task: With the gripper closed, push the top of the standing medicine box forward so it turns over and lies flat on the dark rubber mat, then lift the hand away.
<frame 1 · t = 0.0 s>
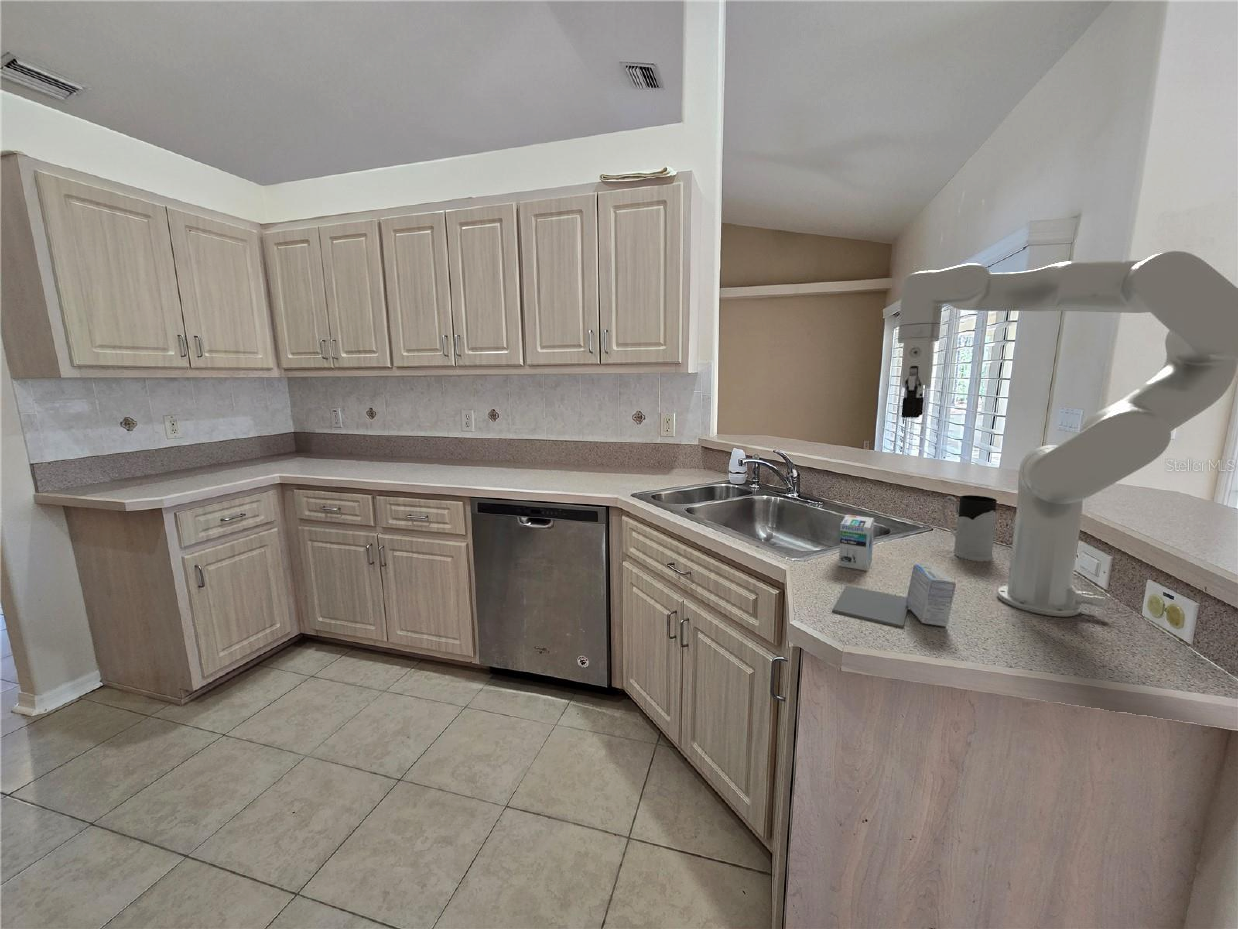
hand: (912, 416, 105), 37 cm above the countertop, tool pointing down, fingers open, 9 cm apart
light bulb box: (855, 563, 122), on the countertop
medicine box: (924, 616, 92), on the countertop, touching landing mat
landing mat: (871, 605, 97), on the countertop
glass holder: (962, 552, 128), on the countertop
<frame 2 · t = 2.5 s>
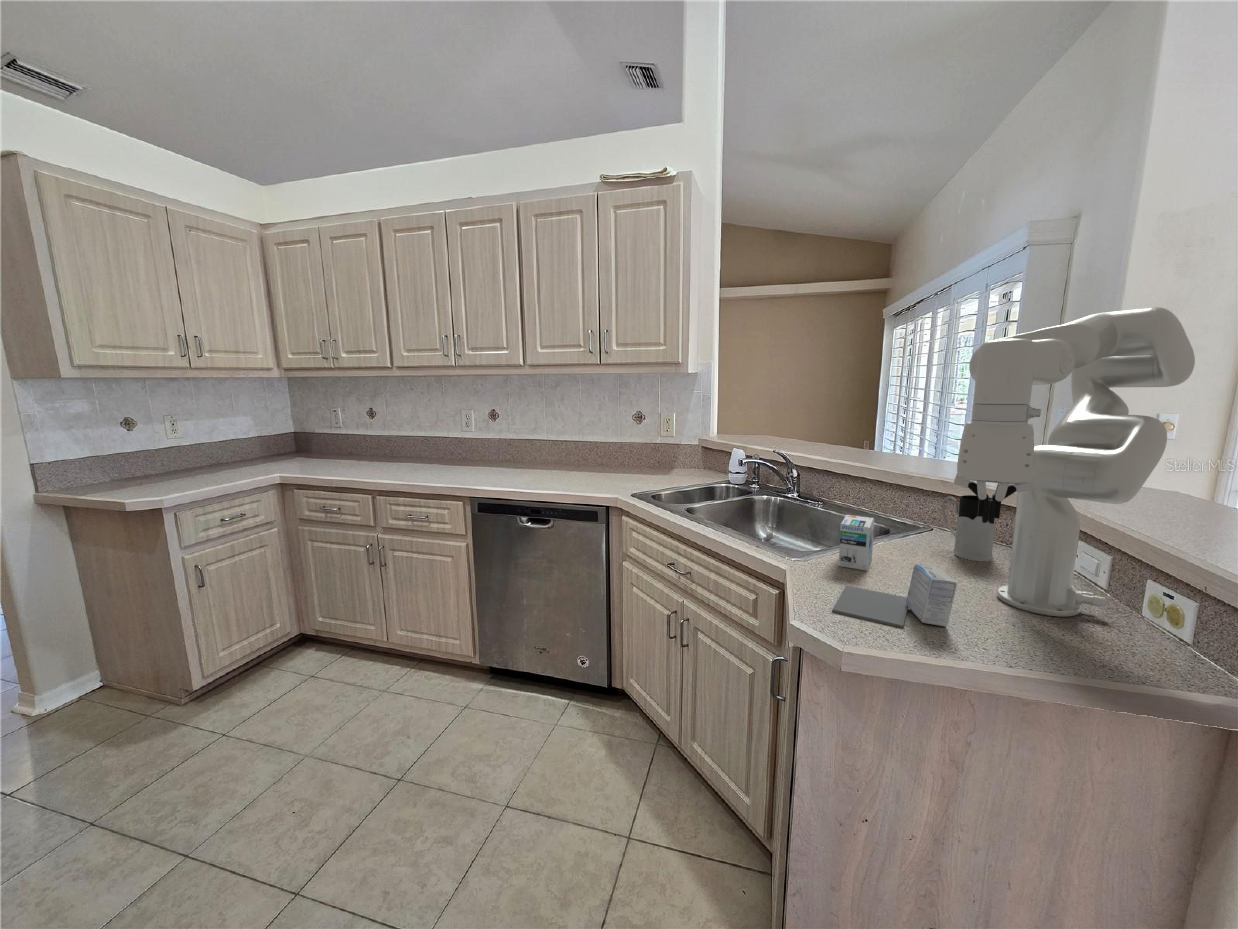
hand: (987, 521, 85), 20 cm above the countertop, tool pointing down, fingers closed
nothing on the countertop moved.
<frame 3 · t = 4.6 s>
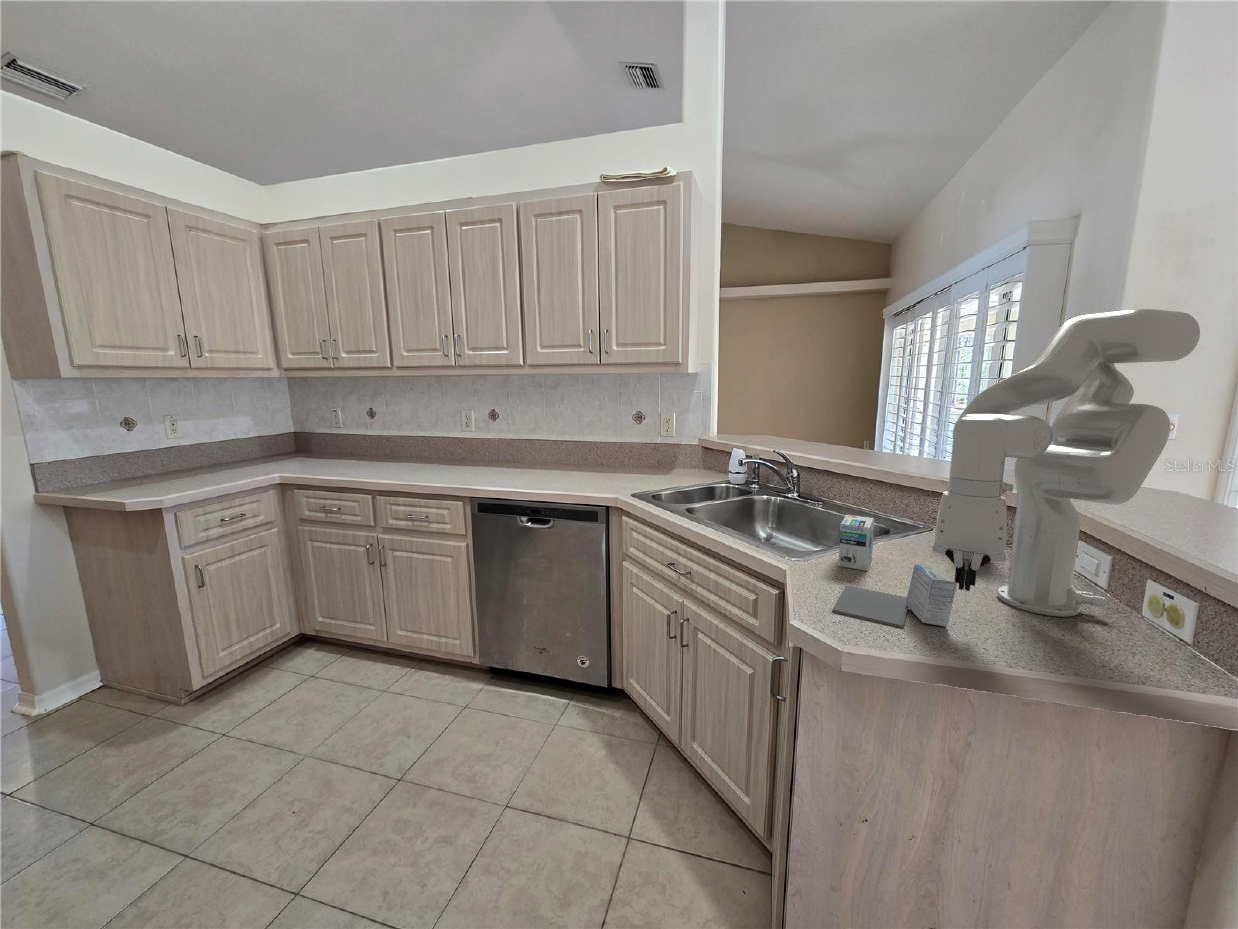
hand: (964, 587, 88), 7 cm above the countertop, tool pointing down, fingers closed
medicine box: (924, 616, 92), on the countertop, touching gripper, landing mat
everything else where it was.
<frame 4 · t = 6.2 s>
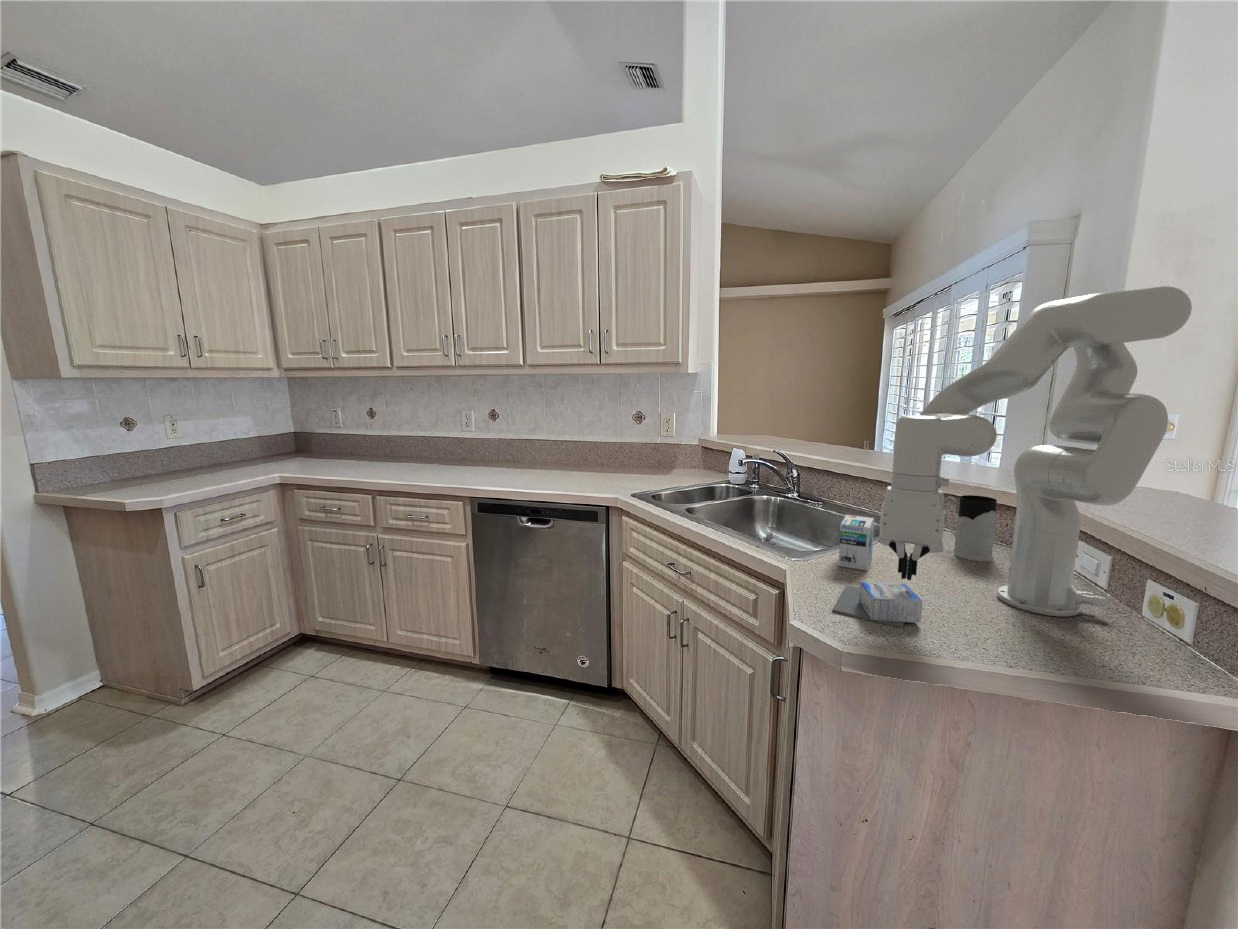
hand: (906, 577, 93), 7 cm above the countertop, tool pointing down, fingers closed
medicine box: (914, 603, 92), point 3 cm above the countertop, touching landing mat
everything else where it was.
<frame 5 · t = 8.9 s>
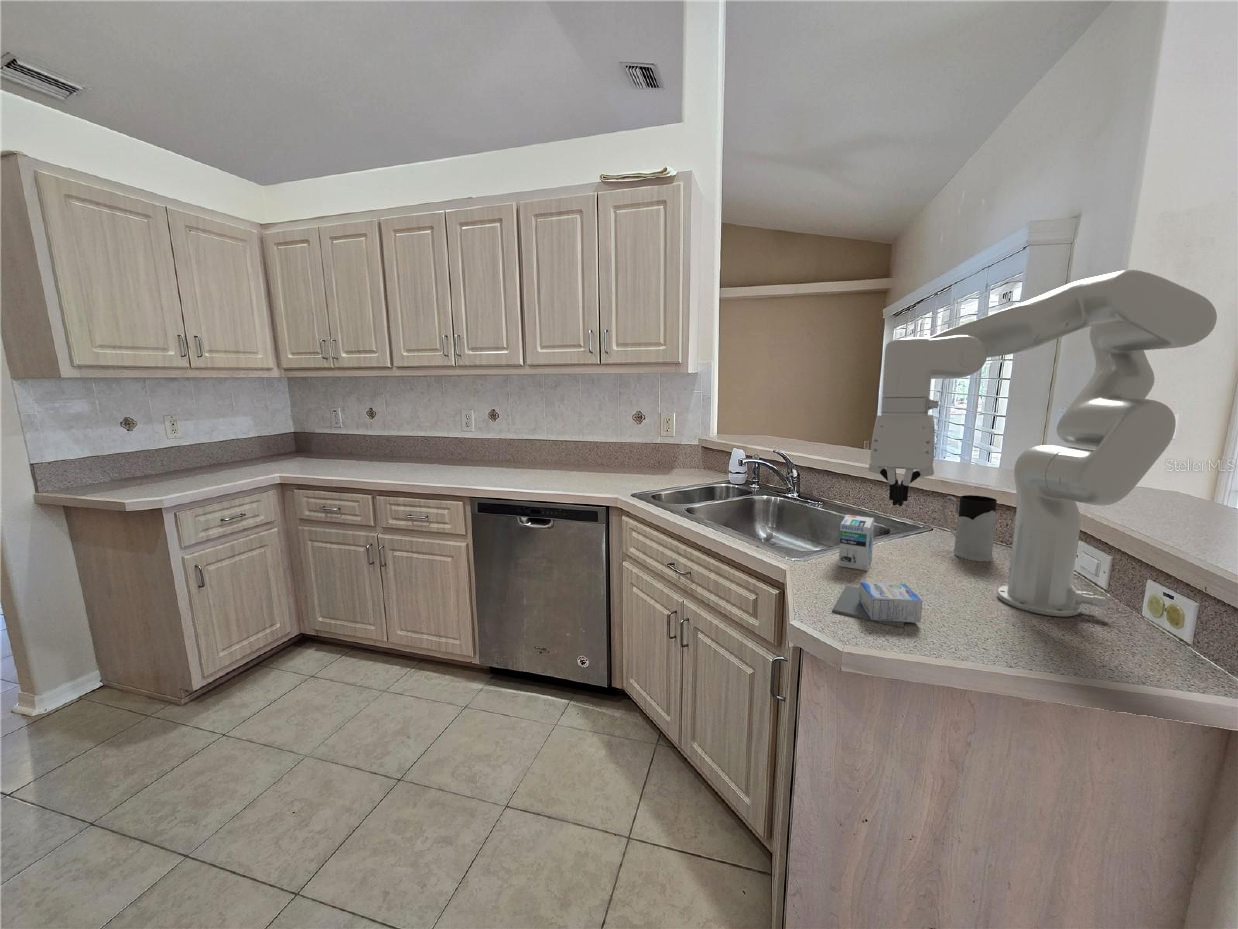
hand: (898, 504, 93), 21 cm above the countertop, tool pointing down, fingers closed
nothing on the countertop moved.
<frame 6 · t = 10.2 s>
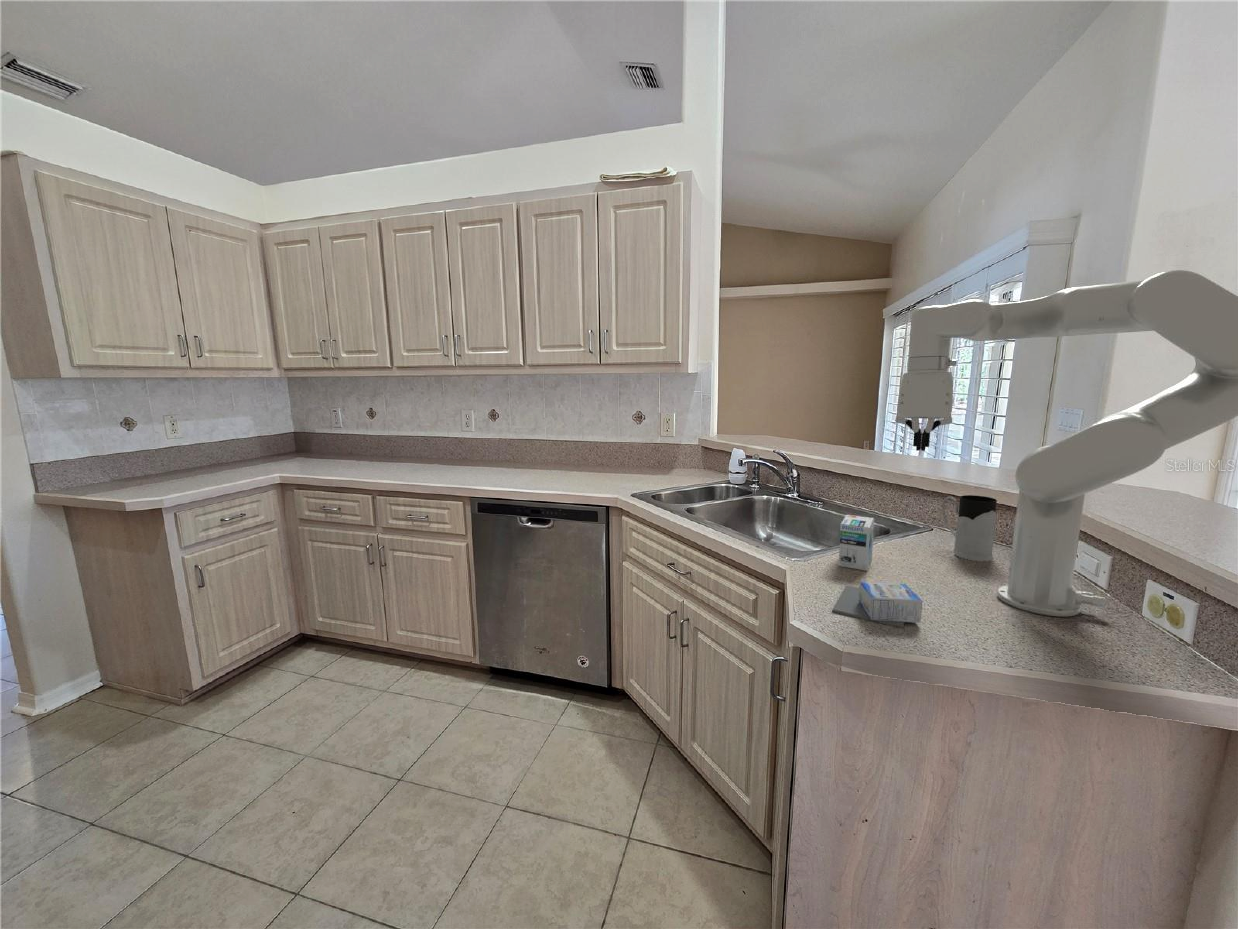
hand: (920, 449, 109), 29 cm above the countertop, tool pointing down, fingers closed
nothing on the countertop moved.
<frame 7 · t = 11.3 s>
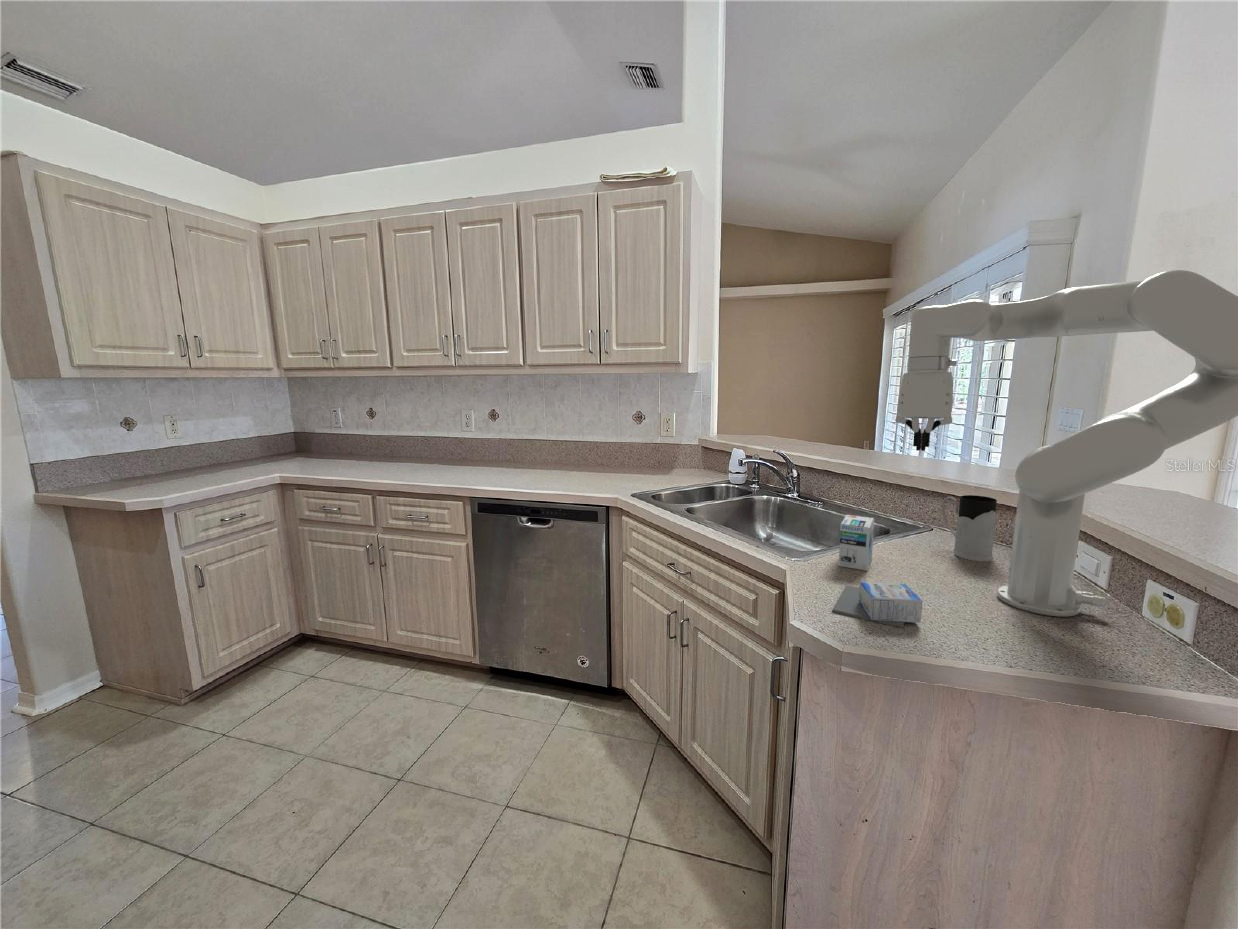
hand: (920, 449, 109), 29 cm above the countertop, tool pointing down, fingers closed
nothing on the countertop moved.
at the end: medicine box tilted 89°; medicine box inside the target area (2.8 cm from its centre), point 2.7 cm above the countertop; medicine box touching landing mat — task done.
